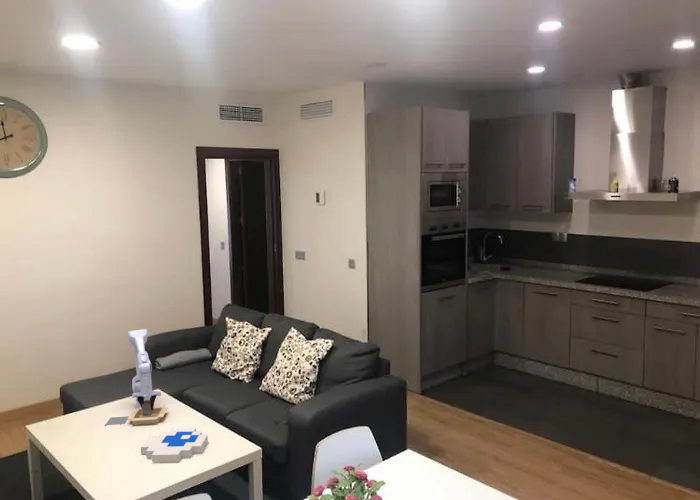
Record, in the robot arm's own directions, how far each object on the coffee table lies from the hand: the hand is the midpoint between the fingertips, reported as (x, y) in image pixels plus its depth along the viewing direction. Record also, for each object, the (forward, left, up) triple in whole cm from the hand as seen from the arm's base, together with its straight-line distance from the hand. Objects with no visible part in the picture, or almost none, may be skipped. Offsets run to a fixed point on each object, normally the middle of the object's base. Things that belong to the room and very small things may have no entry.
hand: (147, 409), depth 311 cm
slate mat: (0, -16, -5) cm, 17 cm away
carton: (0, 0, -5) cm, 5 cm away
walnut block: (0, 0, -2) cm, 2 cm away
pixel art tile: (+37, +21, -6) cm, 43 cm away
